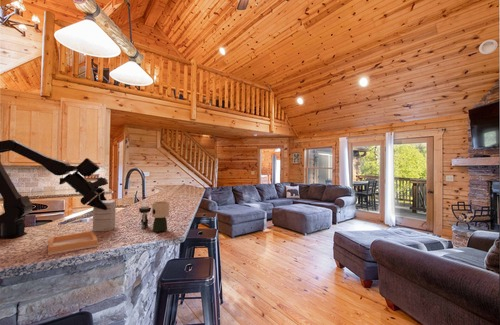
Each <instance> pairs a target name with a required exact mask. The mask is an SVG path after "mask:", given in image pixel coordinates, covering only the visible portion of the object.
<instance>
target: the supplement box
mask: <svg viewBox="0 0 500 325" xmlns="http://www.w3.org/2000/svg"><path fill="white" fill-rule="evenodd" d="M102 202H103V203H104V204H105V205H106V207H107V208H108V209H107V210H103V209H99V208H96V207H93V208H92V231H93V232H104V231H105V232H107V231H111V230H113V229H114V228H115V227H116V208H117V207H116V200H115V199H114V200H111V199H110V200H109V199H107V200H105V201H102Z"/></svg>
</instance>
